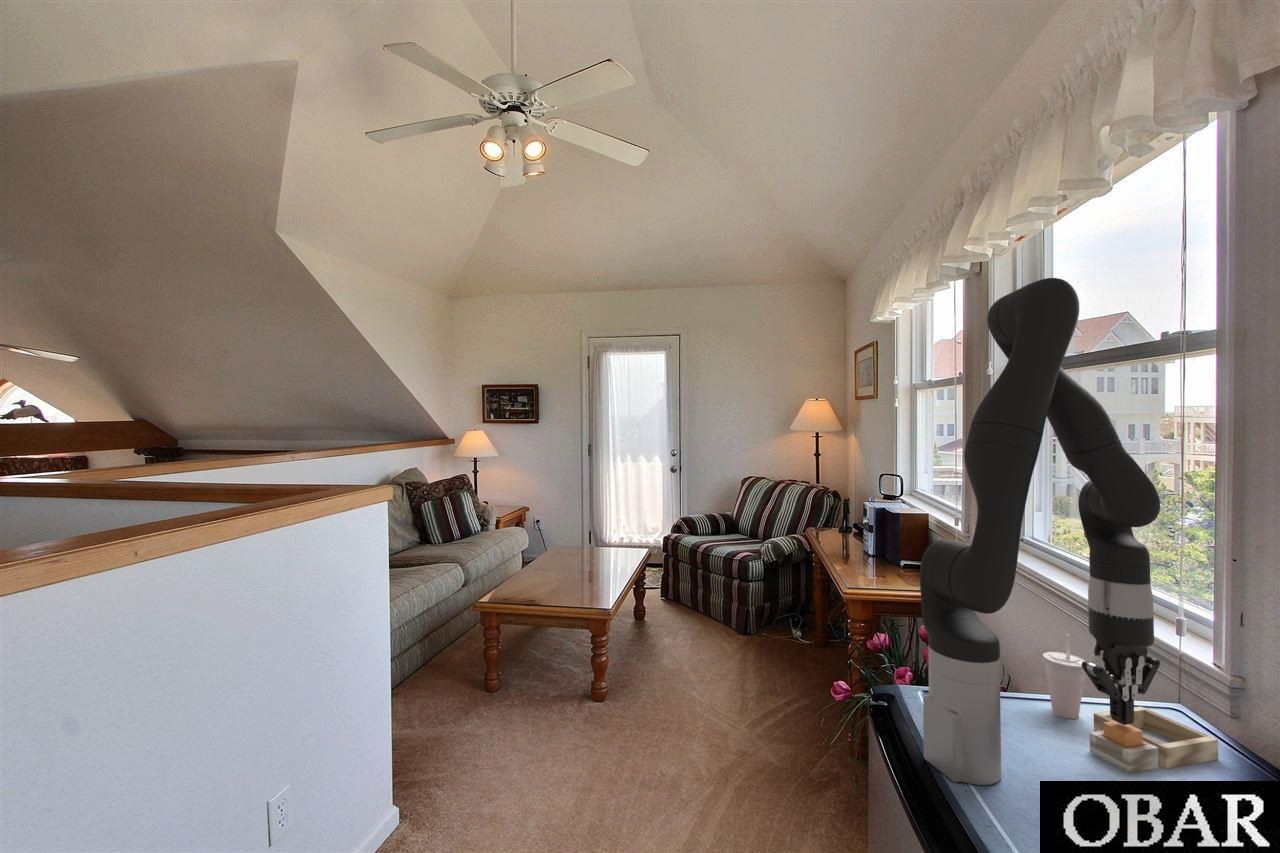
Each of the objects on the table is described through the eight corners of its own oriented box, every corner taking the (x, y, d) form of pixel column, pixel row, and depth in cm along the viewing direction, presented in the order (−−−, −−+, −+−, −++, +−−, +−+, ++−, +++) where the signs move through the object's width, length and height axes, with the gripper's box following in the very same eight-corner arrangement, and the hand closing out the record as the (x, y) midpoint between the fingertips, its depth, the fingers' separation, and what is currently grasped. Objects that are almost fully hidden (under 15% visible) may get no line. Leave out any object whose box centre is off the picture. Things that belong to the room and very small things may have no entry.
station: (1132, 775, 79) (1132, 754, 79) (1062, 736, 89) (1062, 718, 89) (1218, 759, 83) (1218, 739, 83) (1141, 724, 93) (1141, 706, 93)
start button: (1126, 749, 81) (1126, 733, 81) (1103, 738, 84) (1103, 722, 84) (1142, 746, 82) (1142, 730, 82) (1119, 735, 85) (1119, 719, 85)
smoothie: (1097, 724, 93) (1096, 642, 93) (1054, 720, 94) (1053, 639, 94) (1075, 706, 99) (1074, 629, 99) (1035, 702, 100) (1034, 626, 100)
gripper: (1113, 620, 78) (1115, 741, 78) (1181, 612, 81) (1183, 728, 81) (1061, 604, 85) (1063, 715, 85) (1125, 597, 88) (1128, 704, 88)
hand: (1122, 721), depth 83 cm, fingers closed
